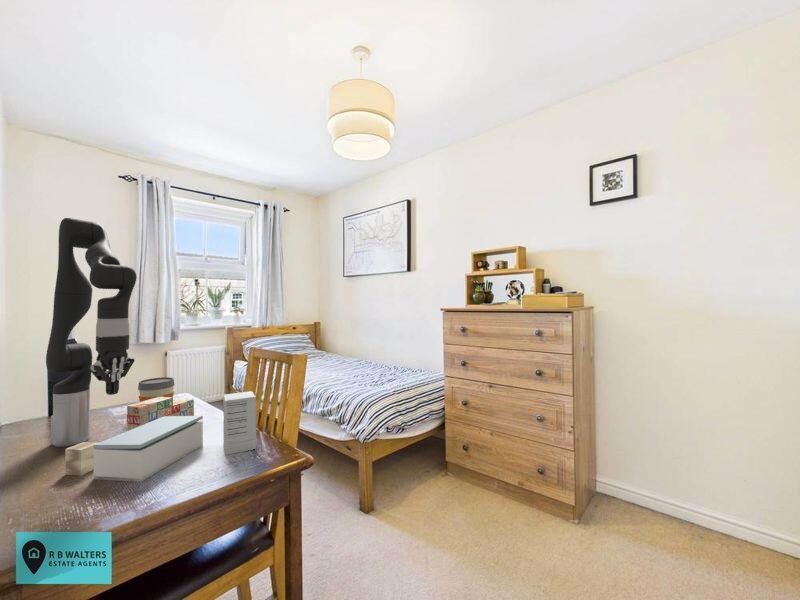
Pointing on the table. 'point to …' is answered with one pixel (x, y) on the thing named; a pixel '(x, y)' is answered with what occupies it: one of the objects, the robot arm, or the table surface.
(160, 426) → the box lid
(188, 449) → the storage box
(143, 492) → the table surface
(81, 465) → the beech block
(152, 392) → the reusable coffee cup
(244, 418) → the supplement box
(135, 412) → the stack of blocks
